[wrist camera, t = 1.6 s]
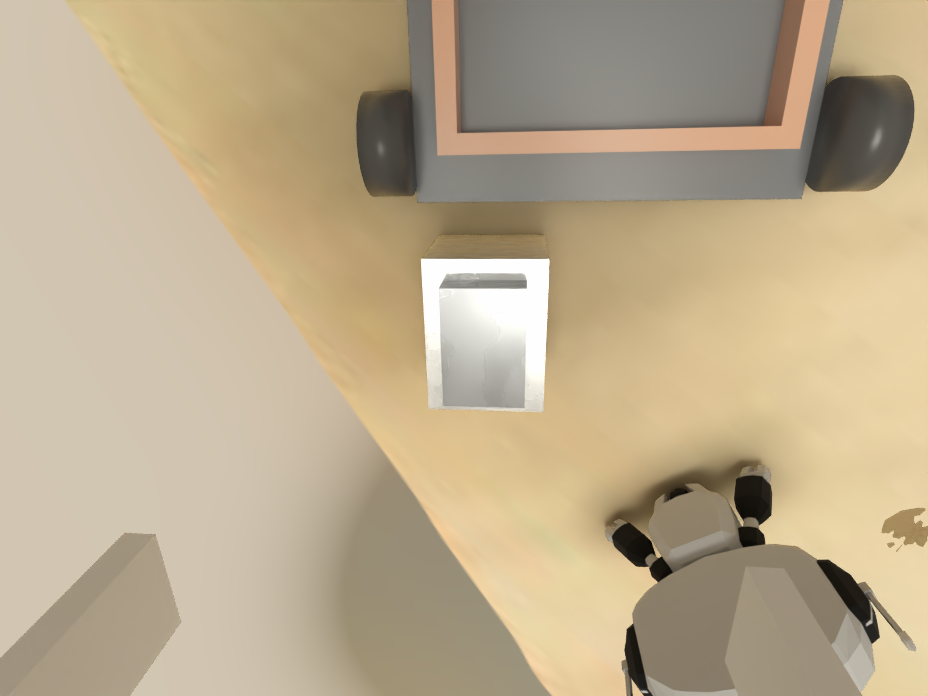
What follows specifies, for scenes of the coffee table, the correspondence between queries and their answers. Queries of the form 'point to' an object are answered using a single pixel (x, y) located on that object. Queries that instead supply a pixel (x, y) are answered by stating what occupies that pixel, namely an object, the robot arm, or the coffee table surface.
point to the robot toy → (727, 590)
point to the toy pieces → (906, 527)
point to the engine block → (486, 321)
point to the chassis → (628, 104)
